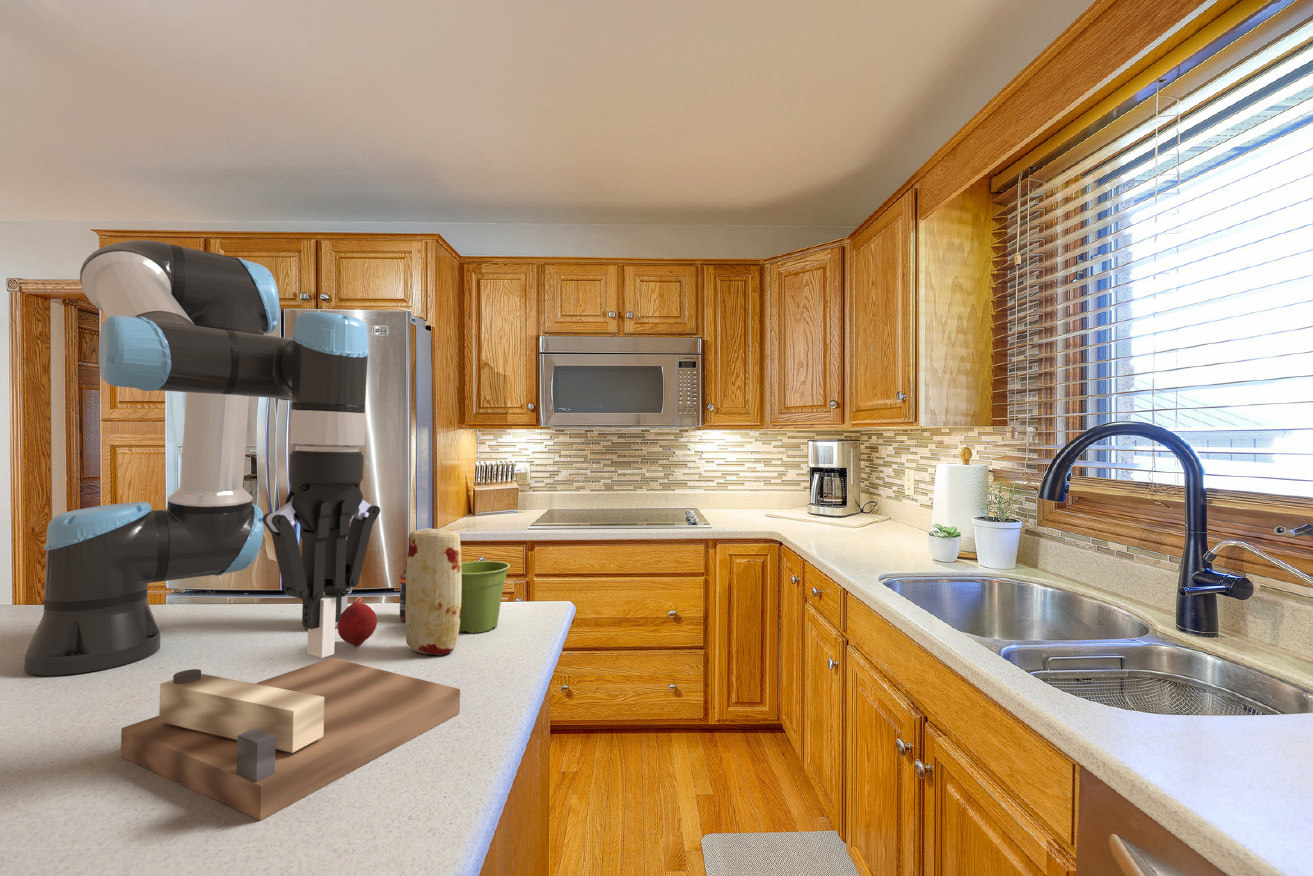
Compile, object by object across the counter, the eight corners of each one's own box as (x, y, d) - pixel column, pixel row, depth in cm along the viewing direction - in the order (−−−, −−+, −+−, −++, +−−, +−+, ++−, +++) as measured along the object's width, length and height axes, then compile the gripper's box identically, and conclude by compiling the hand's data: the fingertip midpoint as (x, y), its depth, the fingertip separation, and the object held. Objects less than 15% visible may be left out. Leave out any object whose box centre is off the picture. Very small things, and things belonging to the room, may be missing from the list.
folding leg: (159, 721, 63) (160, 677, 64) (193, 708, 67) (194, 666, 67) (292, 752, 57) (293, 703, 57) (323, 736, 61) (324, 690, 61)
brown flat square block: (120, 756, 63) (122, 694, 63) (331, 678, 84) (332, 632, 84) (260, 820, 52) (262, 746, 52) (459, 713, 74) (460, 660, 74)
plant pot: (484, 615, 117) (485, 558, 118) (522, 627, 110) (523, 566, 110) (428, 628, 108) (430, 566, 109) (466, 642, 101) (467, 576, 101)
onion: (359, 653, 95) (361, 603, 95) (328, 651, 96) (329, 601, 96) (383, 642, 100) (384, 594, 101) (353, 639, 102) (354, 592, 102)
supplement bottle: (439, 617, 116) (440, 558, 116) (415, 625, 110) (416, 564, 111) (417, 613, 118) (418, 556, 118) (392, 621, 113) (393, 561, 113)
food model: (393, 655, 94) (396, 528, 95) (421, 642, 101) (423, 524, 101) (447, 662, 92) (449, 531, 92) (471, 648, 98) (474, 526, 98)
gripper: (358, 448, 76) (351, 632, 76) (249, 447, 65) (241, 665, 65) (398, 450, 73) (391, 643, 73) (290, 450, 61) (282, 680, 61)
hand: (320, 653), depth 69 cm, fingers closed
